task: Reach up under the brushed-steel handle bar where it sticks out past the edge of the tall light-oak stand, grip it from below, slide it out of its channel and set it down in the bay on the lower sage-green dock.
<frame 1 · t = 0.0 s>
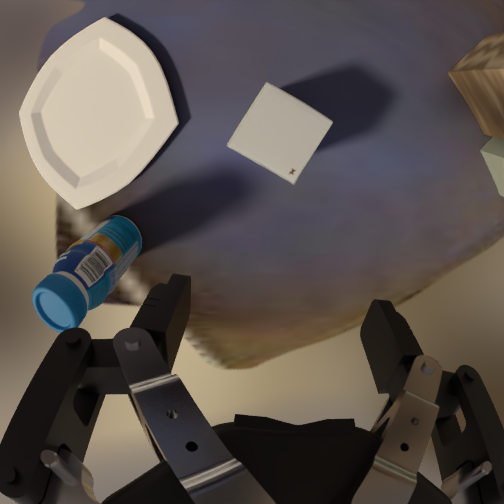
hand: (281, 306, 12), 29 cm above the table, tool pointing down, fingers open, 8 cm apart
oak stand: (488, 82, 28), on the table
supplement box: (276, 128, 36), on the table
beverage bottle: (121, 237, 44), on the table
plate: (90, 112, 35), on the table
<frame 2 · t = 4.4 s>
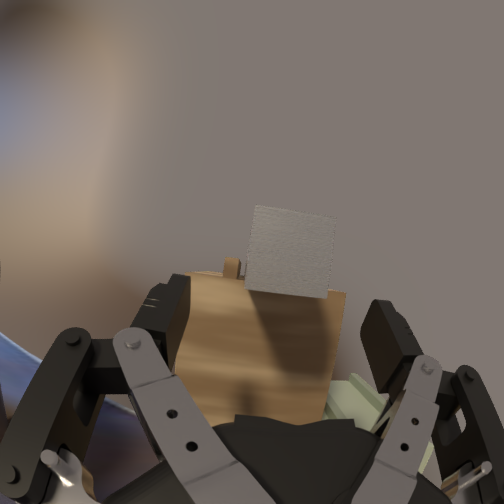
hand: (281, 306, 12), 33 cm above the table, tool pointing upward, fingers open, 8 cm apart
steel bar: (265, 282, 24), point 34 cm above the table, touching oak stand
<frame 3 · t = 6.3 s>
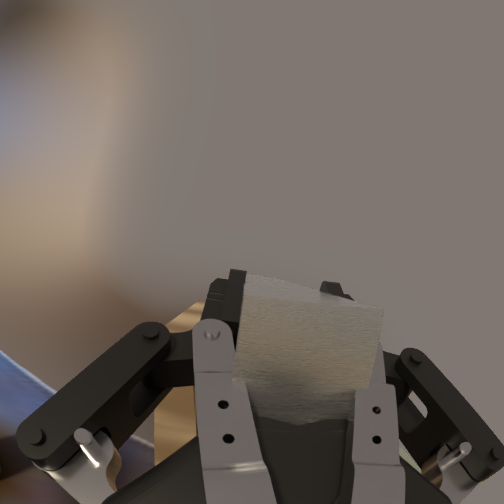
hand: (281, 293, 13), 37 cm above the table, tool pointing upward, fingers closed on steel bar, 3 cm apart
steel bar: (263, 334, 18), point 34 cm above the table, touching gripper, oak stand
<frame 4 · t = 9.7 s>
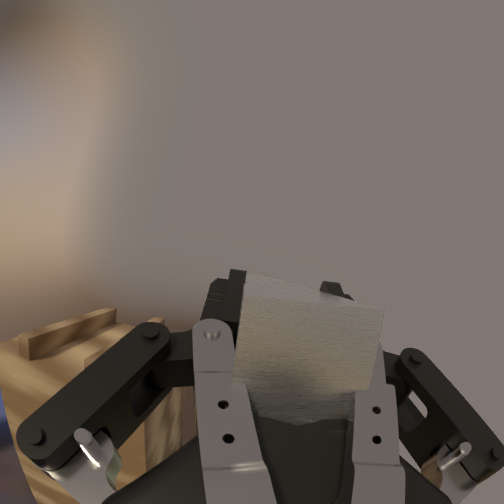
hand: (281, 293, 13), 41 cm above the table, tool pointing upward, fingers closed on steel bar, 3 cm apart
steel bar: (263, 334, 18), point 38 cm above the table, touching gripper
when the fingers open (25 cm above the table, at t = 13.2 s): steel bar drops 1 cm, resting on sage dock.
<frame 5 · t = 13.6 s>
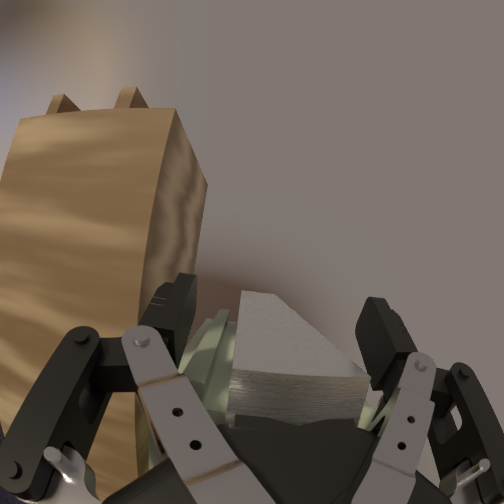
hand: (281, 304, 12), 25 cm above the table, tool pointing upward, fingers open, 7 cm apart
steel bar: (259, 359, 18), point 20 cm above the table, touching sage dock
oak stand: (112, 497, 19), on the table
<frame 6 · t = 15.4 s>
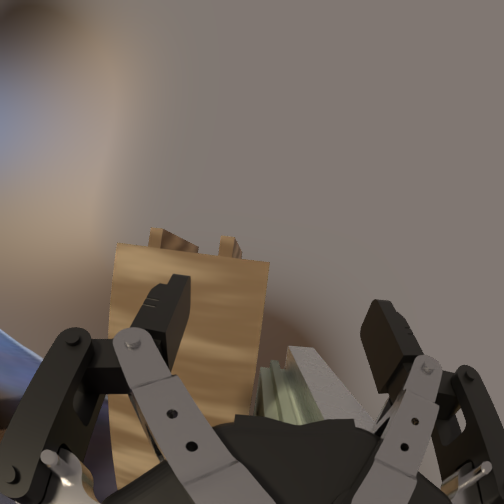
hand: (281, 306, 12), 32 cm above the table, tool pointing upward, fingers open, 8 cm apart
steel bar: (313, 407, 25), point 20 cm above the table, touching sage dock
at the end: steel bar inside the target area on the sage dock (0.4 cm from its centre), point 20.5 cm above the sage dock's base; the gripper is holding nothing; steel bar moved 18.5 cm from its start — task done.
